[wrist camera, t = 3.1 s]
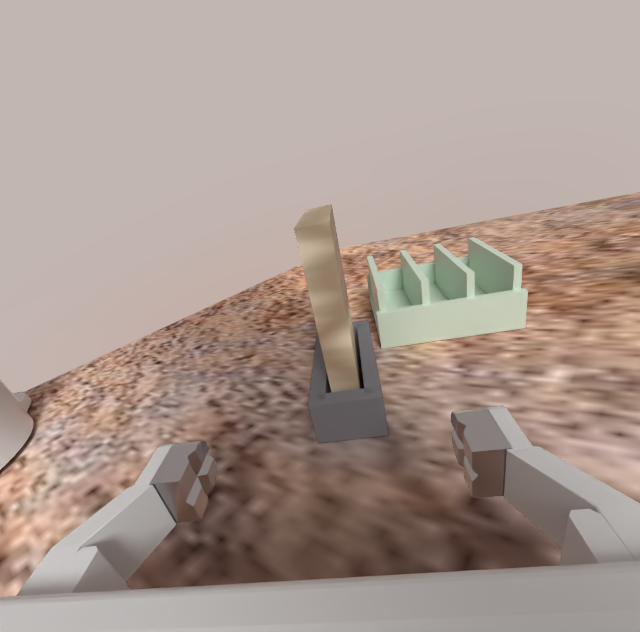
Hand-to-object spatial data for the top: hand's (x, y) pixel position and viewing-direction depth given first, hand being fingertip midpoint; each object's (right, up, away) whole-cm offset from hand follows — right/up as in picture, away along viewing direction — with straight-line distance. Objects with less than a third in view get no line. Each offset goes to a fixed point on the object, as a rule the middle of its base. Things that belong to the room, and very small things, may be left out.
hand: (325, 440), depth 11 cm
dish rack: (+11, +5, +22) cm, 26 cm away
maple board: (+2, -1, +14) cm, 14 cm away
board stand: (+2, -1, +14) cm, 14 cm away
